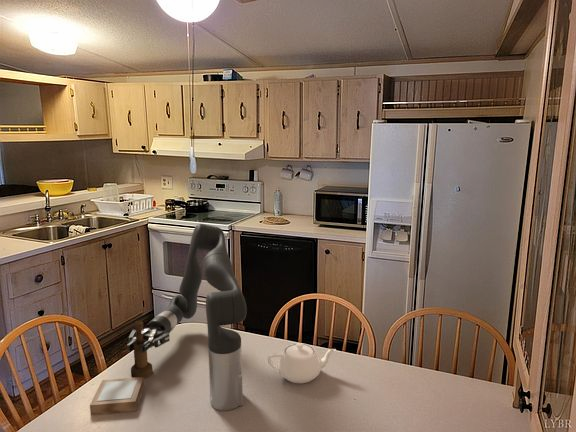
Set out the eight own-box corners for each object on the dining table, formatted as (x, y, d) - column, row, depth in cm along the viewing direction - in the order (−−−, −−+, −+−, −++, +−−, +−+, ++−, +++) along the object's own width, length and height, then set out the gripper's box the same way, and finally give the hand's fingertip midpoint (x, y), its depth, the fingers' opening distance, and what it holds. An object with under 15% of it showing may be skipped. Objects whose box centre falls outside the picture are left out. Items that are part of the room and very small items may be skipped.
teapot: (268, 389, 126) (267, 356, 124) (267, 364, 140) (266, 335, 138) (339, 386, 128) (340, 354, 126) (331, 362, 141) (332, 333, 139)
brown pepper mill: (156, 368, 137) (152, 317, 134) (147, 379, 131) (143, 326, 127) (136, 367, 138) (132, 316, 134) (127, 378, 131) (122, 325, 128)
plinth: (144, 385, 128) (143, 376, 127) (136, 410, 116) (135, 400, 116) (103, 389, 126) (102, 379, 125) (90, 415, 114) (89, 404, 114)
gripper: (143, 313, 147) (113, 336, 130) (180, 317, 144) (155, 340, 127) (144, 333, 148) (115, 358, 132) (181, 337, 145) (156, 362, 129)
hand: (135, 349), depth 130 cm, fingers closed on brown pepper mill, 4 cm apart
